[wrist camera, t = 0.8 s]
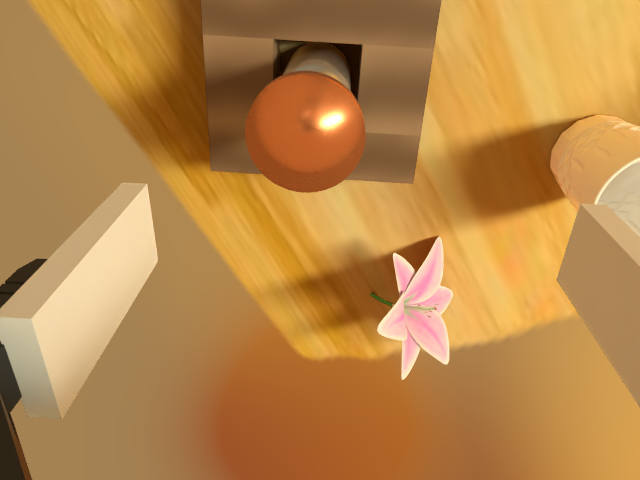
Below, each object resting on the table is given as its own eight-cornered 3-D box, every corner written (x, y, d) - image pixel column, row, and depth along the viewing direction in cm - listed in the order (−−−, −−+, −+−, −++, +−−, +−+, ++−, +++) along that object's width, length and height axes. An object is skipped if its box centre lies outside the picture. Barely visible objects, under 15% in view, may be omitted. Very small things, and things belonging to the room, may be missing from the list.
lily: (430, 337, 54) (491, 377, 46) (328, 354, 50) (374, 401, 41) (437, 226, 52) (502, 246, 43) (330, 234, 48) (379, 257, 39)
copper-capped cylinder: (278, 29, 39) (243, 71, 26) (362, 34, 39) (371, 79, 26) (277, 112, 42) (246, 188, 29) (355, 117, 42) (359, 196, 29)
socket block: (212, -32, 37) (198, -29, 33) (434, -18, 37) (443, -15, 33) (221, 153, 44) (210, 170, 40) (407, 165, 44) (412, 183, 40)
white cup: (608, 85, 40) (682, 124, 31) (660, 153, 42) (741, 207, 34) (522, 153, 43) (567, 206, 34) (575, 213, 45) (629, 276, 37)
